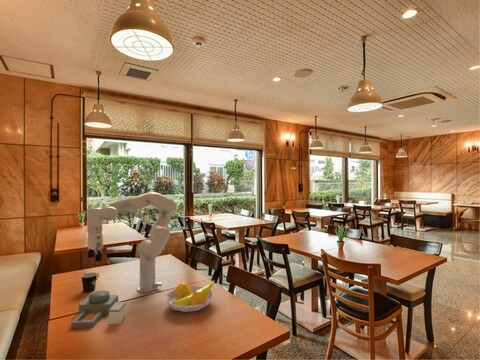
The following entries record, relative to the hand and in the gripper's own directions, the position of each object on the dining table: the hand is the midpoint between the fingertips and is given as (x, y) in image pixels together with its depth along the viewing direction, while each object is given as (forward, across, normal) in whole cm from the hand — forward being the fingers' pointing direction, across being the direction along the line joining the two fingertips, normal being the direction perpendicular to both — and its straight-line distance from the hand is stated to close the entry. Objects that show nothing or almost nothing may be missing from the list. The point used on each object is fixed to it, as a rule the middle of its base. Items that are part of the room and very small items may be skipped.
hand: (94, 259), depth 150 cm
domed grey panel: (+25, -13, +6) cm, 29 cm away
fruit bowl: (+26, -44, -34) cm, 61 cm away
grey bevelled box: (+26, -26, 0) cm, 37 cm away
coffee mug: (+26, +21, -7) cm, 34 cm away
